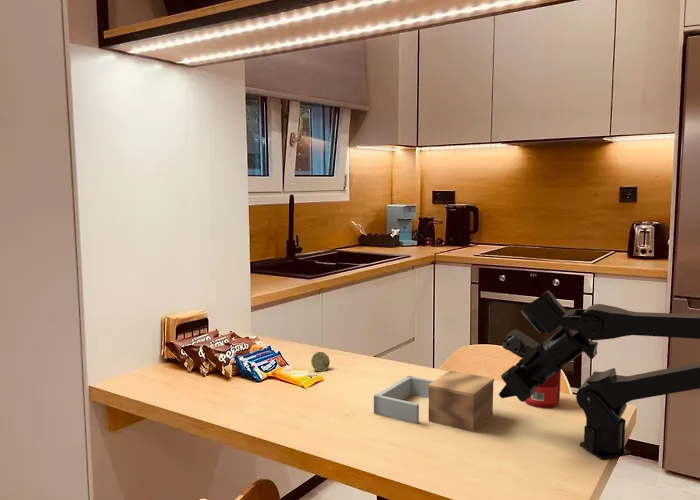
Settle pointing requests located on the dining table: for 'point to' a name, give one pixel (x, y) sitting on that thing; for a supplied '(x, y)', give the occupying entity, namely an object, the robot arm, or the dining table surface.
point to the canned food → (547, 393)
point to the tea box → (461, 400)
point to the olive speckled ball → (320, 361)
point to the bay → (392, 397)
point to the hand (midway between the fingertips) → (500, 395)
